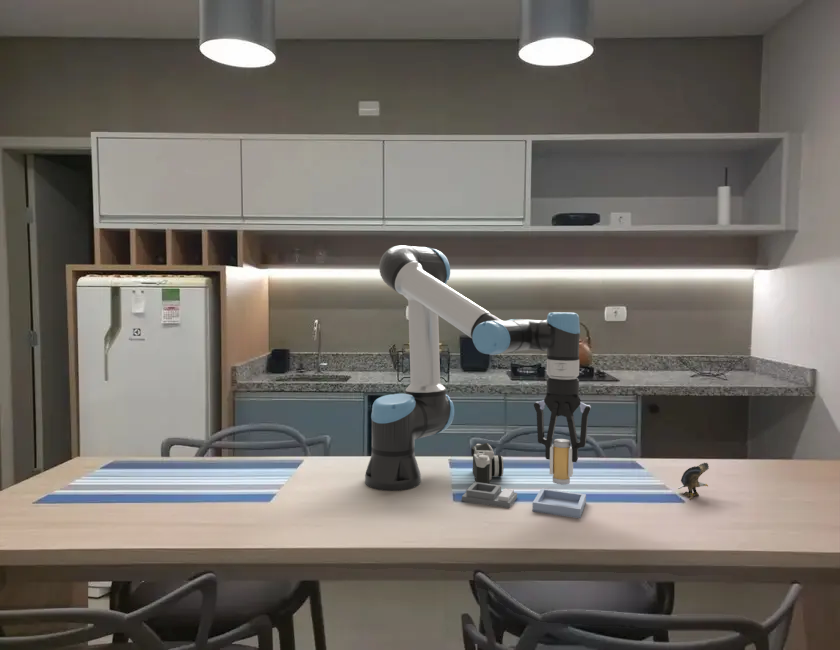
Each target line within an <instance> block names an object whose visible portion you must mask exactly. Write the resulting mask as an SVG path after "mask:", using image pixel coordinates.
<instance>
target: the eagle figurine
mask: <svg viewBox="0 0 840 650" xmlns="http://www.w3.org/2000/svg"><path fill="white" fill-rule="evenodd" d="M709 469H710V468H709V463H708V462H703V463H700V464H698V465H697V466H692V467H689V468H688V469H686V470H685V471H684V472H683V473H682V476H681V480H680V482H681V484H682V485H681V486H678V487H677V490H679V489H682V488H686V487H687V491H685V492H684V493H682V495H683V496H684V495H685V497H688V498H689V499H688V501H691V499H692V500H693V499H694V497H696V496H700V494H699V493H698V491H697V489H696V488H700V487H709V485H708V484H707V483H705V482H701V481H699V478H700V476H702V475H703V474H704V473H705V472H706V471H708V470H709Z"/></svg>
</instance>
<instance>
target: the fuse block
mask: <svg viewBox="0 0 840 650" xmlns="http://www.w3.org/2000/svg"><path fill="white" fill-rule="evenodd" d="M517 499H518V492H515V490H514V489H512V488H503V489H502V485H501V484H492V483H489V484H487V483H479V482H475V481H474V482H473V483H472V484H471V485H470V486H469V487H468V488H467V489H466V491H465V492H464V493H463V495H462V496H461V501H462V502H466V503H471V504H477V505H484V506H493V507H498V508H499V507H501V508H506V509H510V508H511V507H512V505H513V504H514V503H515V502H516V500H517Z"/></svg>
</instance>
